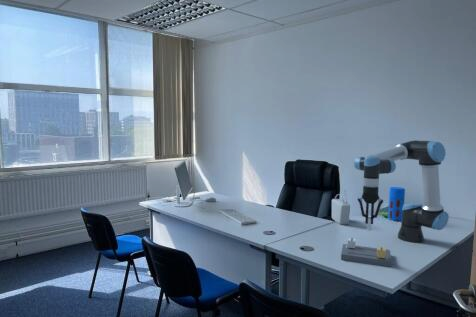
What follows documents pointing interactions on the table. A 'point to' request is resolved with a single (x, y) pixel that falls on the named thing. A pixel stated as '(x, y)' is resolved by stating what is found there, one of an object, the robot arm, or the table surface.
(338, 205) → the white jerry can
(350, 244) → the fader grey
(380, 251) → the fader amber
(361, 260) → the board
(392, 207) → the thermos
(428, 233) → the table surface
